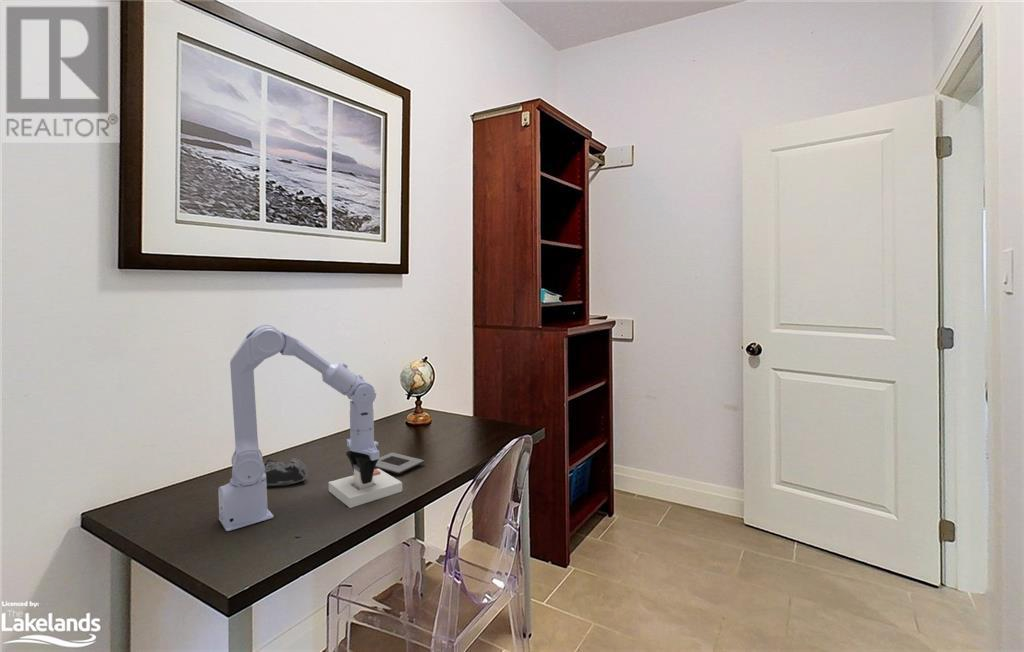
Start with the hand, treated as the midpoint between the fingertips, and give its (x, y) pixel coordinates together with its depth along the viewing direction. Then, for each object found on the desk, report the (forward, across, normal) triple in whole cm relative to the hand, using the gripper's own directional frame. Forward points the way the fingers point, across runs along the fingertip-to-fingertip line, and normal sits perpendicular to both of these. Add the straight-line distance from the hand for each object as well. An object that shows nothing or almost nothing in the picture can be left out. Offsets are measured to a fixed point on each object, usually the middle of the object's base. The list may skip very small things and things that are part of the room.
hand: (363, 480), depth 122 cm
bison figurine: (+4, +22, +12) cm, 25 cm away
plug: (+2, 0, 0) cm, 2 cm away
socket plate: (+3, +1, -1) cm, 4 cm away
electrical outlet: (+4, +11, -15) cm, 19 cm away
